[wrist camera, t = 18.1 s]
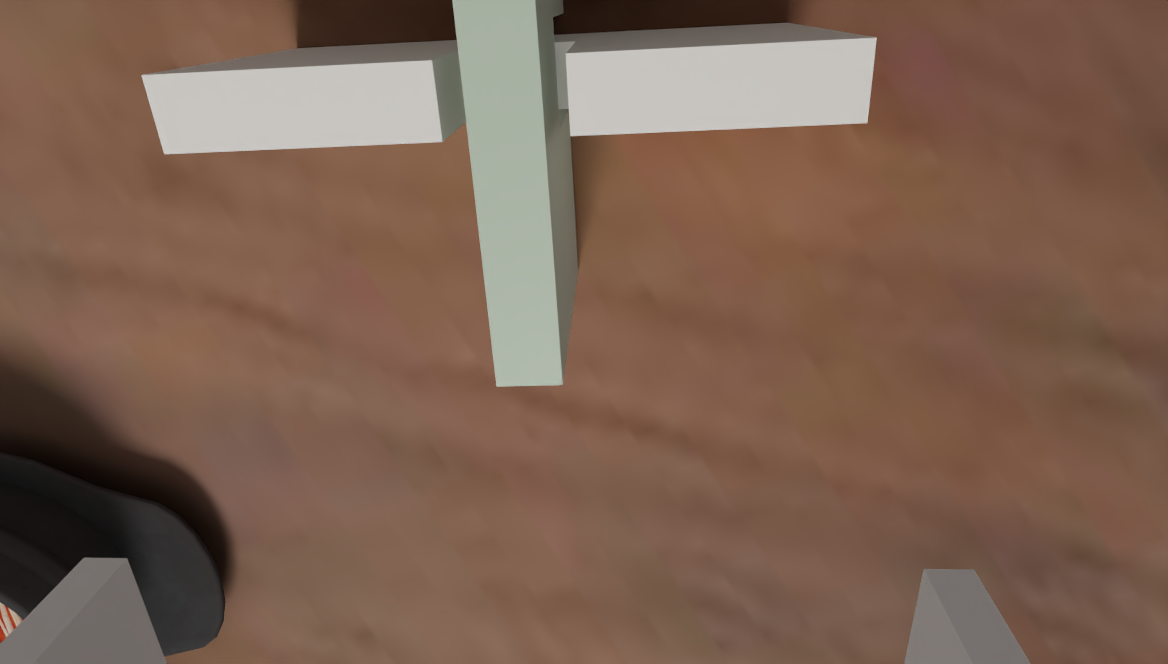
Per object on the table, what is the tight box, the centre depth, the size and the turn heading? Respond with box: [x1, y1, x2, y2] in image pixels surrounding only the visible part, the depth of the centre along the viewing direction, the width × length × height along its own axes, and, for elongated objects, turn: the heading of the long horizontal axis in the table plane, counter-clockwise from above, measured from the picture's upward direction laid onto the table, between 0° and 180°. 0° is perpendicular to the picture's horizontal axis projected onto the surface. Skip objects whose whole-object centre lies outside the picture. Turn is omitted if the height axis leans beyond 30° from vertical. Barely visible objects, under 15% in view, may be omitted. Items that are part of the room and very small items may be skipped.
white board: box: [142, 23, 877, 154], centre depth 28 cm, size 22×2×12 cm, turn 93°
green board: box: [452, 0, 578, 387], centre depth 28 cm, size 20×2×12 cm, turn 3°
